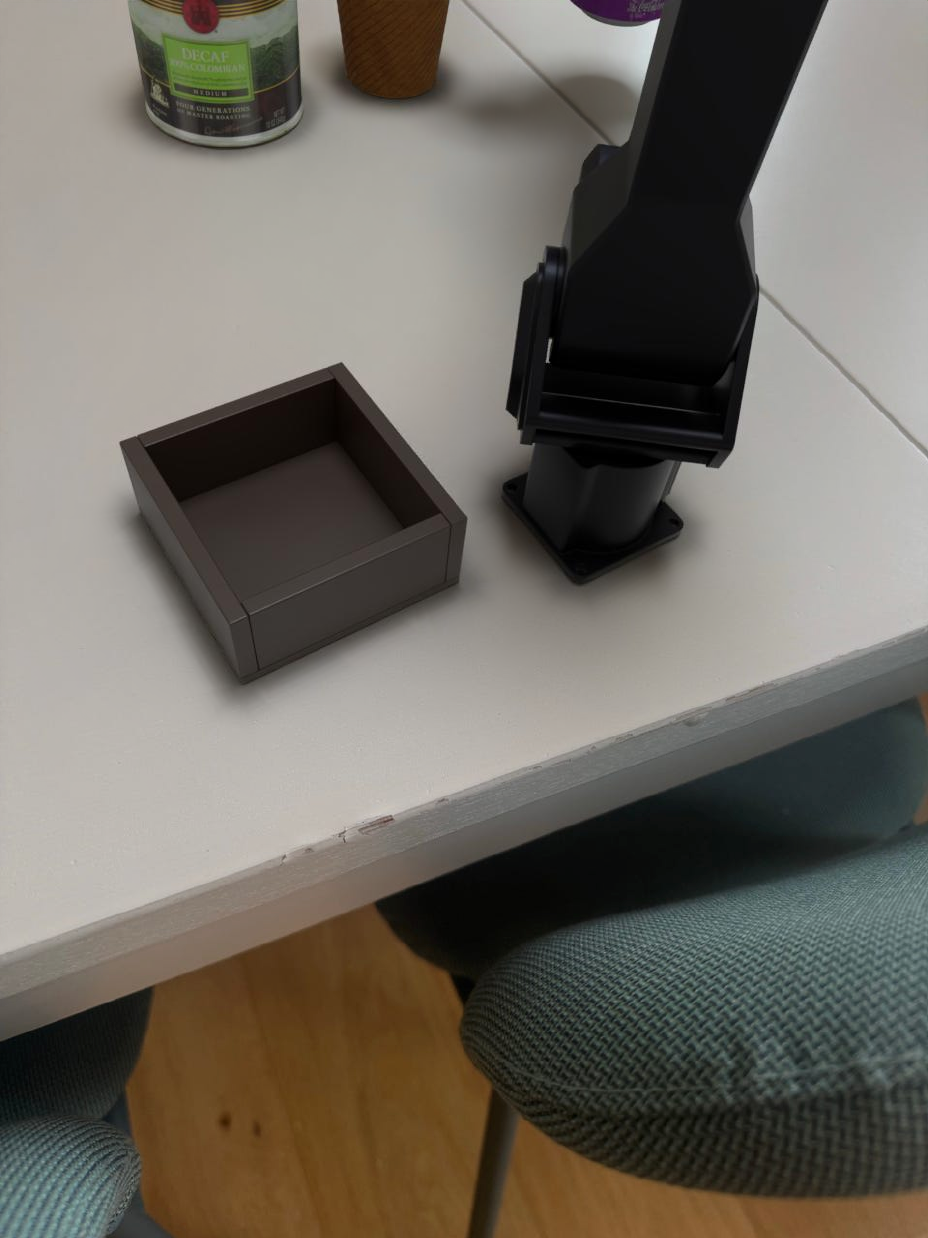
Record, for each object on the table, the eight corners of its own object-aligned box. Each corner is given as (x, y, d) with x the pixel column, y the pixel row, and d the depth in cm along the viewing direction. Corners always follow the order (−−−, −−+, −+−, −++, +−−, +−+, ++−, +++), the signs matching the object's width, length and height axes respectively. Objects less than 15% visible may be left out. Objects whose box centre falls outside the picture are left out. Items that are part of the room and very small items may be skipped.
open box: (242, 685, 39) (229, 624, 35) (139, 511, 43) (118, 441, 40) (459, 582, 43) (468, 517, 39) (344, 431, 47) (341, 361, 44)
